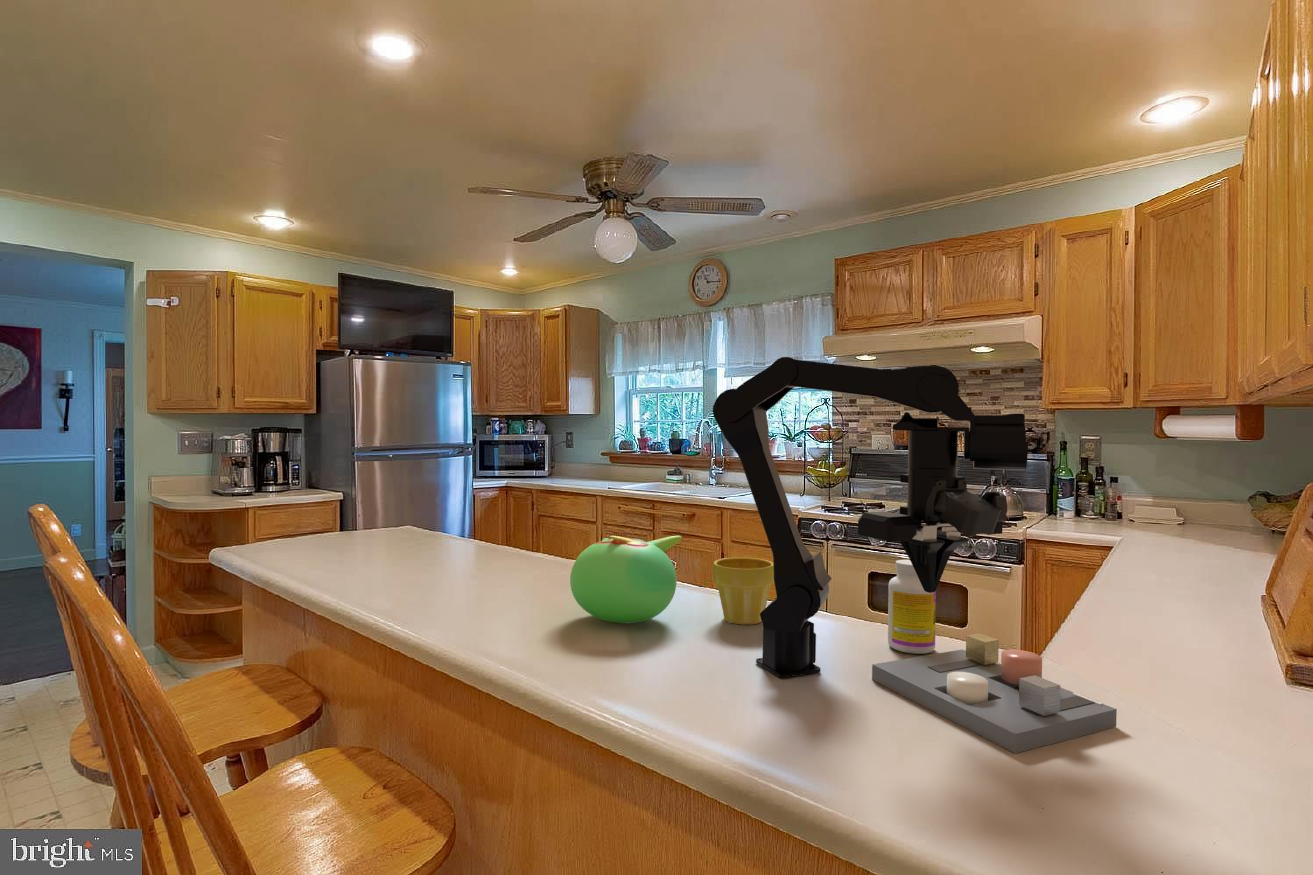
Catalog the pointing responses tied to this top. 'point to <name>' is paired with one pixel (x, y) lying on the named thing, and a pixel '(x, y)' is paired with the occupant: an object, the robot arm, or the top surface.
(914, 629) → the supplement bottle
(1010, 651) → the button rust
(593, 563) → the toy bird
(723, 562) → the plant pot
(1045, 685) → the lever grey
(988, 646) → the brushed gold cube
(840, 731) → the top surface
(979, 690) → the button ivory
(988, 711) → the panel
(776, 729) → the top surface
